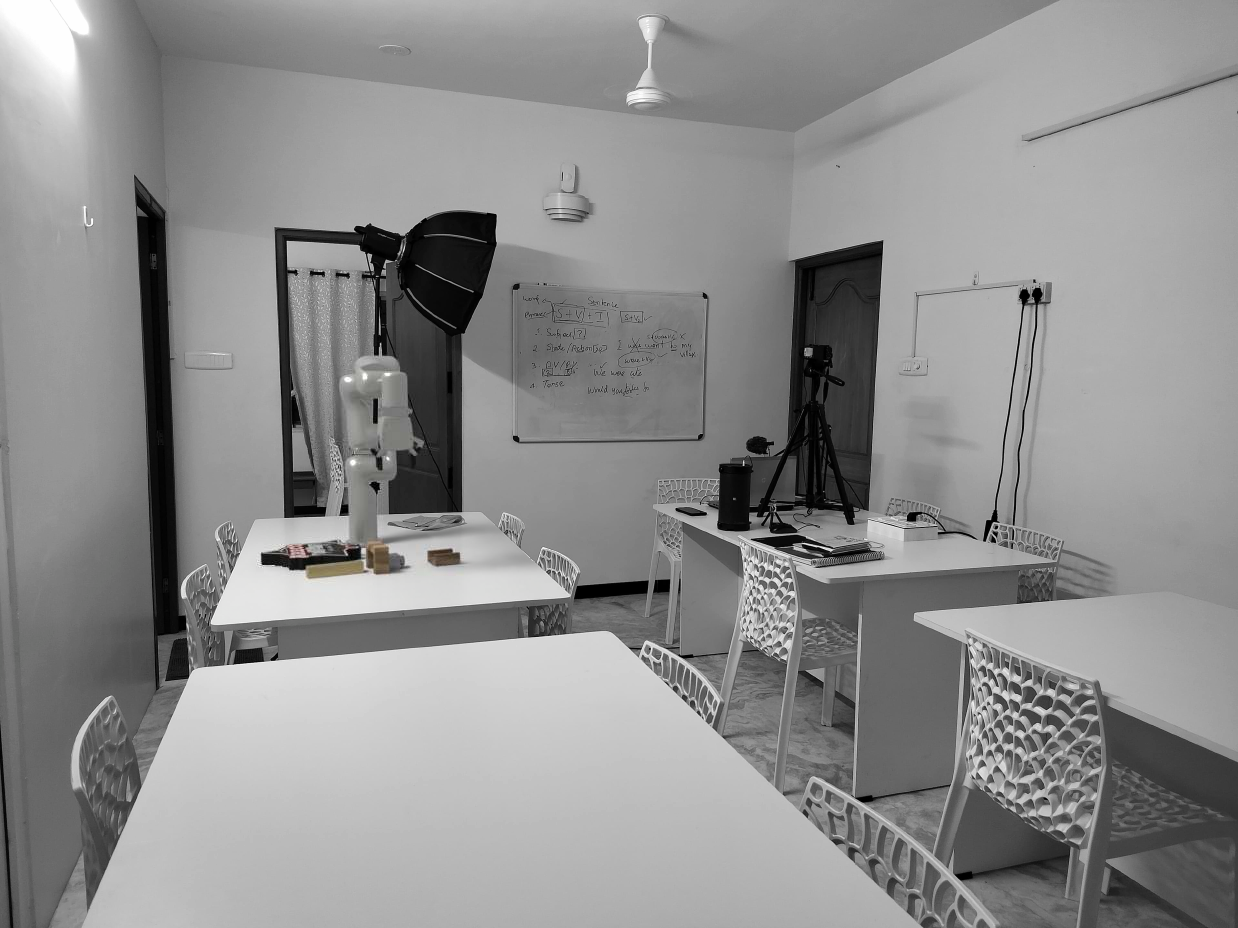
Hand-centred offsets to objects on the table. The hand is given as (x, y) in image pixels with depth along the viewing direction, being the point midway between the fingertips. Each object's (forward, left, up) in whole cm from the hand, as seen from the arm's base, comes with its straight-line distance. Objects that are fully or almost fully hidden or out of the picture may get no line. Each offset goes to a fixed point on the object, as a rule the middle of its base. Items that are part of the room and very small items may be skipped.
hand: (396, 469), depth 246 cm
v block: (-3, +16, -31) cm, 35 cm away
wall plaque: (-25, -20, -32) cm, 45 cm away
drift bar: (-3, -18, -31) cm, 36 cm away
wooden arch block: (-3, -5, -31) cm, 32 cm away
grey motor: (-3, -2, -31) cm, 31 cm away
